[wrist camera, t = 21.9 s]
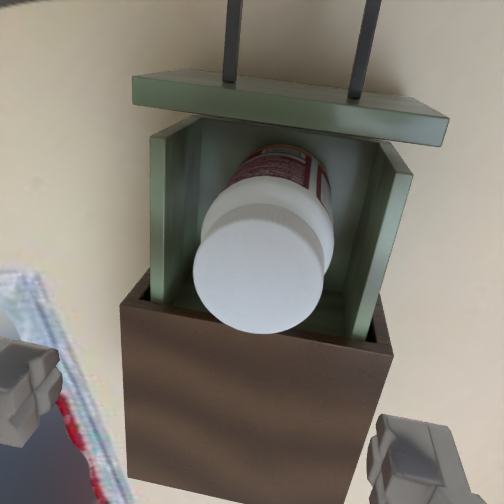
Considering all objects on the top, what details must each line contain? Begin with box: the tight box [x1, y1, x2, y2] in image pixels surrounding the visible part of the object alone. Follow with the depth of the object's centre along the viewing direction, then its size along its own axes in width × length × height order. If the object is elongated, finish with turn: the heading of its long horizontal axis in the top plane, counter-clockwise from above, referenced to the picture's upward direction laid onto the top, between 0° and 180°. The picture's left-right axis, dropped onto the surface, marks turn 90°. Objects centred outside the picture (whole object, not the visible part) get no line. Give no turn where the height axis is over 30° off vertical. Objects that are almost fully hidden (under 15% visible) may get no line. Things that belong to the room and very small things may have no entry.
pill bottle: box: [193, 145, 334, 334], centre depth 21 cm, size 6×6×11 cm
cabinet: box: [120, 268, 394, 504], centre depth 29 cm, size 15×15×10 cm
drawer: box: [132, 0, 450, 341], centre depth 22 cm, size 19×13×8 cm
